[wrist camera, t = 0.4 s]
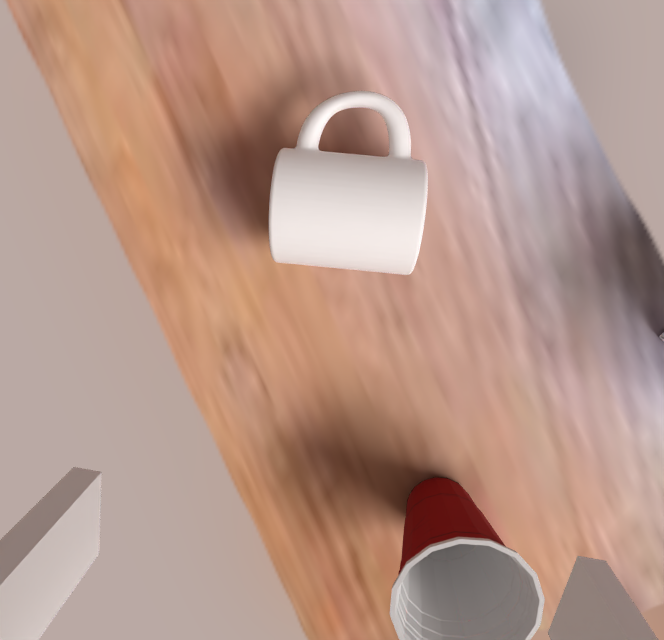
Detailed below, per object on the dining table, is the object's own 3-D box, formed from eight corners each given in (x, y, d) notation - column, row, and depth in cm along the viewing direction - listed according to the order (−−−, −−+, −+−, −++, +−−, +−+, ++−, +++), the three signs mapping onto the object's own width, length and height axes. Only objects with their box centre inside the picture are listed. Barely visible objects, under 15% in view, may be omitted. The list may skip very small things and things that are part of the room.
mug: (404, 265, 38) (416, 285, 30) (283, 254, 38) (265, 270, 31) (424, 107, 35) (444, 84, 27) (292, 95, 35) (275, 69, 27)
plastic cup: (513, 466, 42) (572, 570, 31) (474, 559, 45) (515, 686, 34) (399, 437, 42) (415, 530, 31) (367, 533, 45) (371, 651, 34)
